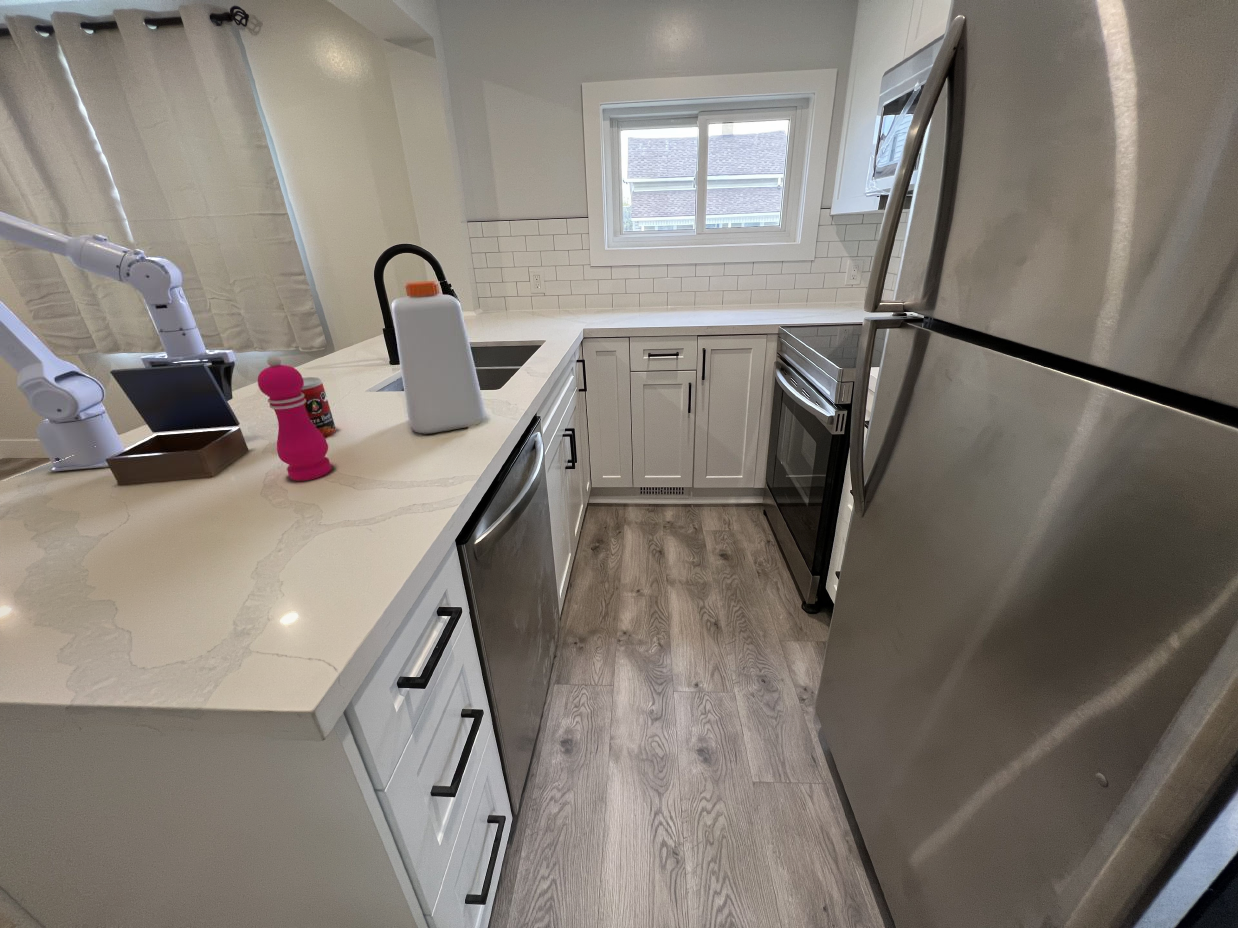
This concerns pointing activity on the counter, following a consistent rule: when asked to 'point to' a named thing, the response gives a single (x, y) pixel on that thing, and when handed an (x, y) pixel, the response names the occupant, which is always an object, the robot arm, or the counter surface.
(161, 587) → the counter surface
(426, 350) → the plastic bottle
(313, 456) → the pepper mill
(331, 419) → the canned food
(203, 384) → the lid
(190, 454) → the chest
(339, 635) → the counter surface
